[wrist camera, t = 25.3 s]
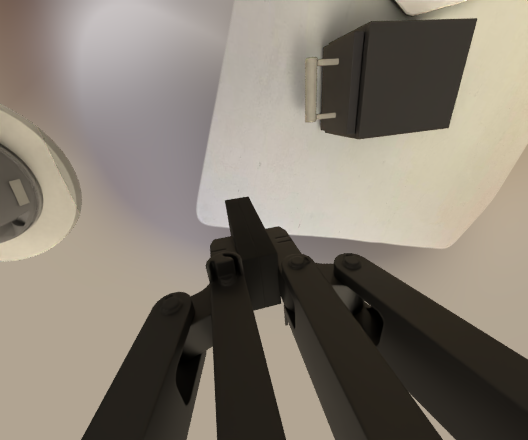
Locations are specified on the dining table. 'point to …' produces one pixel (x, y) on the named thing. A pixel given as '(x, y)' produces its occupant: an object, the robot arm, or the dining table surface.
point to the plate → (424, 5)
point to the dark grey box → (410, 75)
